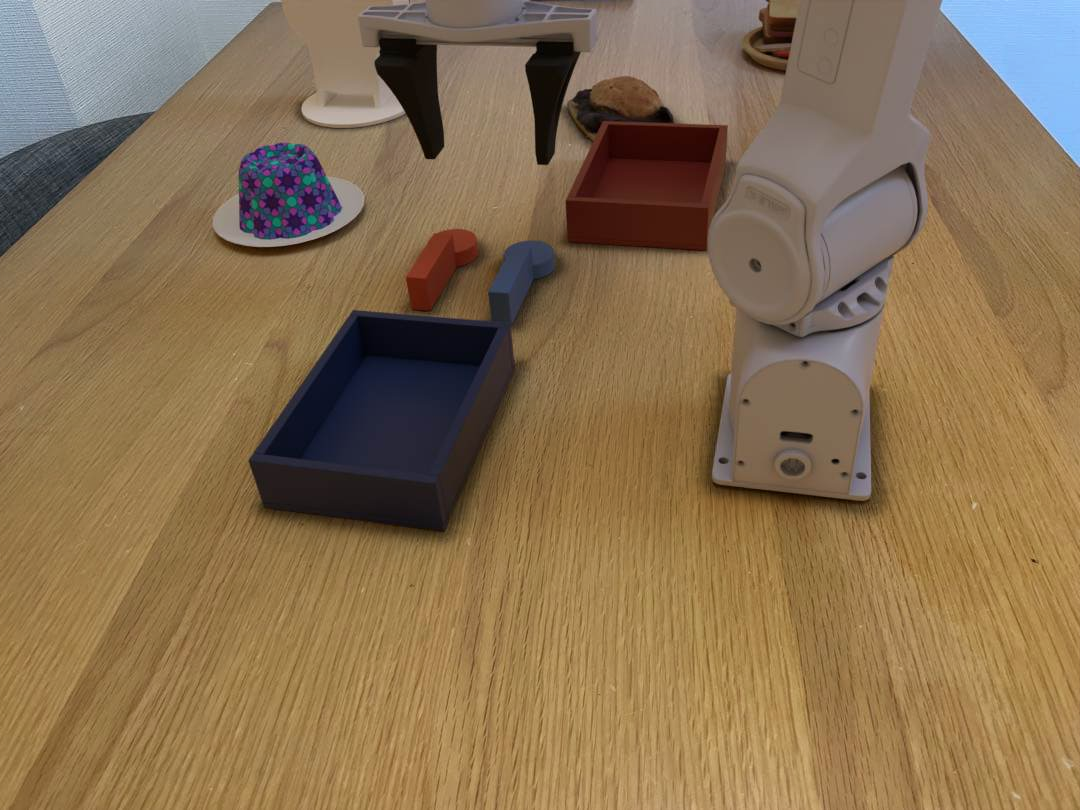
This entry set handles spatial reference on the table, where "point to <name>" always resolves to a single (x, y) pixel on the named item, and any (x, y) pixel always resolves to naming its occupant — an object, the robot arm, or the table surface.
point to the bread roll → (617, 104)
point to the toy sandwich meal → (773, 34)
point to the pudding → (285, 199)
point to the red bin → (648, 185)
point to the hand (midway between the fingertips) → (489, 155)
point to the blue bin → (387, 420)
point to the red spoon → (439, 265)
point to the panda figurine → (341, 64)
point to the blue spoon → (518, 277)
